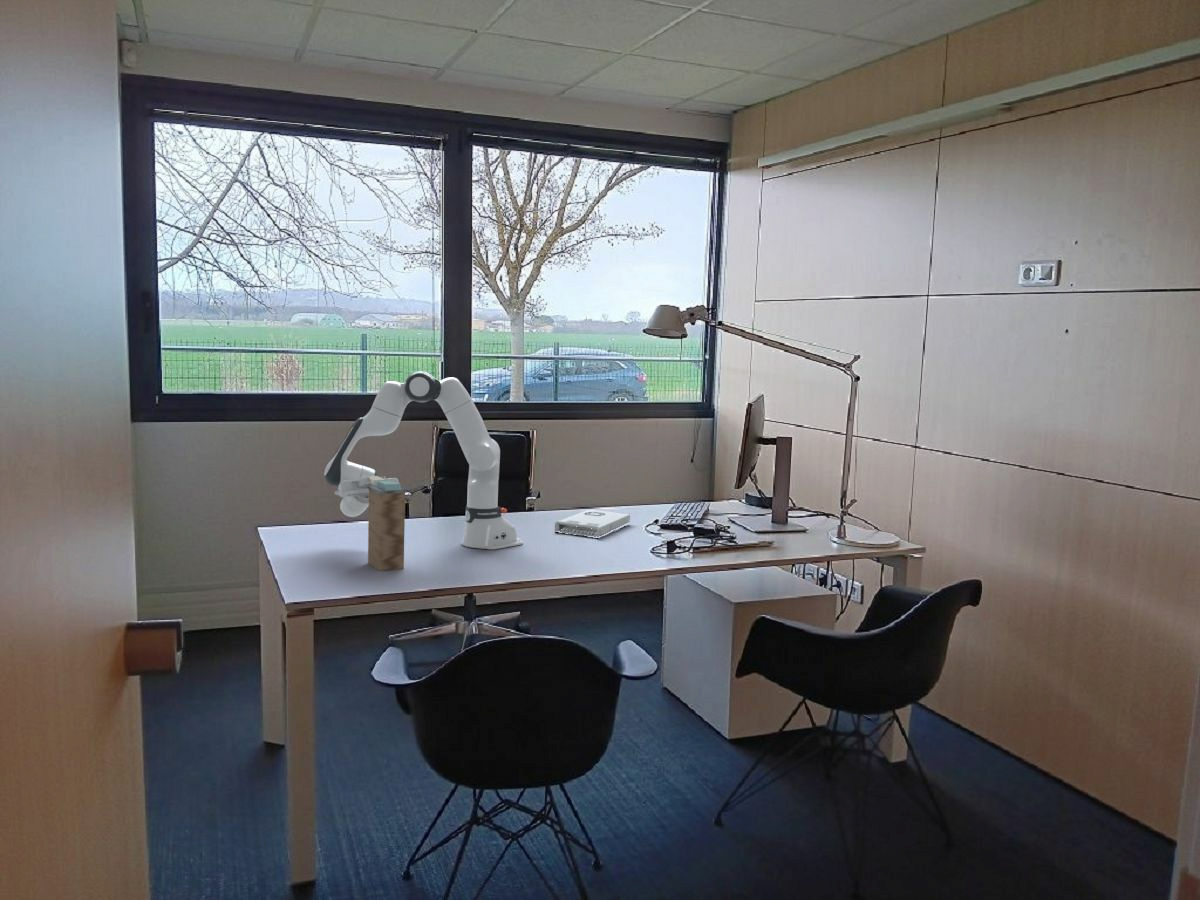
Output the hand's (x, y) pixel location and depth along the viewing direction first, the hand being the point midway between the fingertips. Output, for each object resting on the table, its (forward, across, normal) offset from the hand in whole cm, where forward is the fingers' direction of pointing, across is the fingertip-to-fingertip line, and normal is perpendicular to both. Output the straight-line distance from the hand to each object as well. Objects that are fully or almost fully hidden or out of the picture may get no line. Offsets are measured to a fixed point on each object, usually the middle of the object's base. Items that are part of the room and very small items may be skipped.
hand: (375, 478), depth 294 cm
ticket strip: (+4, 0, +4) cm, 6 cm away
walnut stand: (-5, 0, +29) cm, 29 cm away
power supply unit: (-23, +96, +19) cm, 100 cm away
